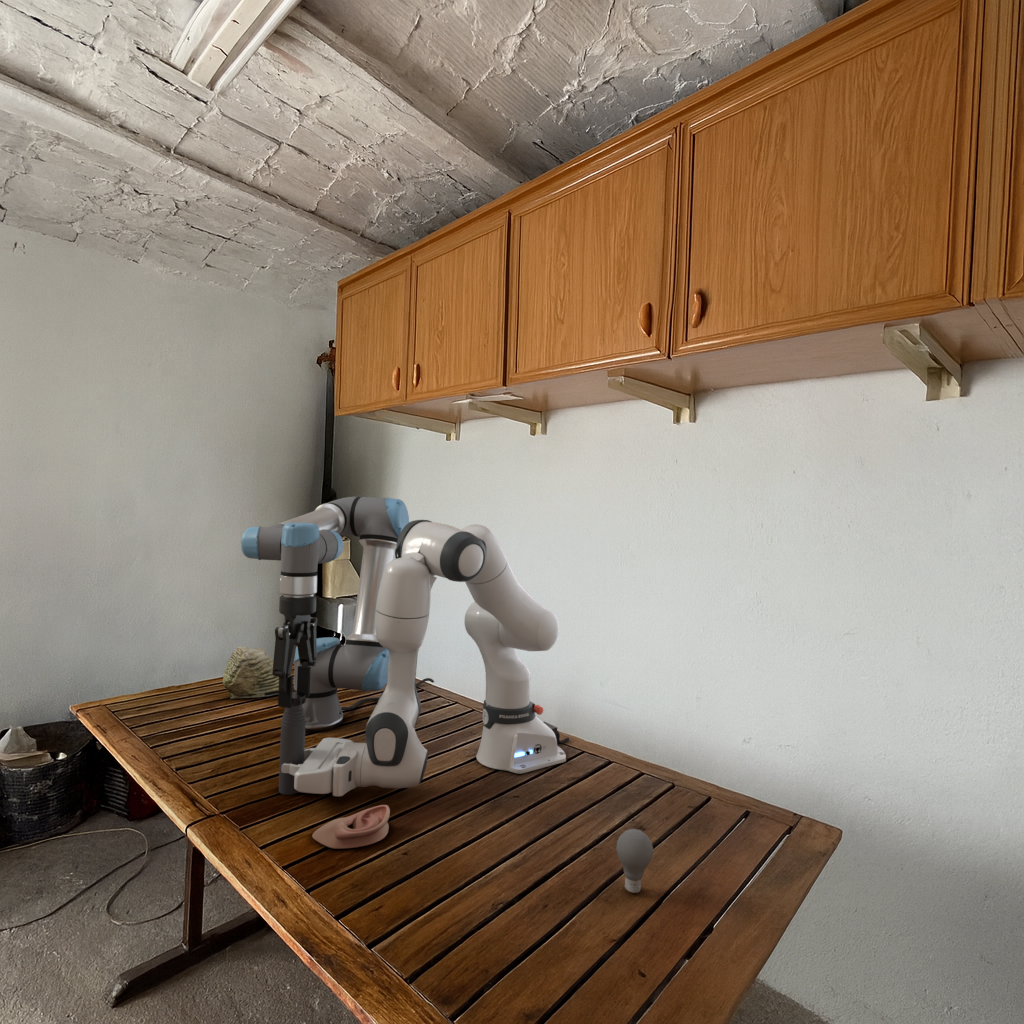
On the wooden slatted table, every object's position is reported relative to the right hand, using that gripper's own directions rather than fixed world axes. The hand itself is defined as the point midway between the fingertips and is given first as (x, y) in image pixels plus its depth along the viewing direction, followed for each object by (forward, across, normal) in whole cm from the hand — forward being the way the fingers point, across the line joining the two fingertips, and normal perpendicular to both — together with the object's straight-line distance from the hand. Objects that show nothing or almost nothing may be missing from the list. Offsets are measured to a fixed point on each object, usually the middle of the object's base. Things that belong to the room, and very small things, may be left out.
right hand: (287, 761), depth 136 cm
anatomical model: (-18, +17, +6) cm, 26 cm away
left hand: (-1, 0, -13) cm, 13 cm away
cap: (-1, 0, -14) cm, 14 cm away
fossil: (+32, -61, +6) cm, 70 cm away
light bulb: (-69, +30, +6) cm, 76 cm away
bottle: (-1, 0, +6) cm, 6 cm away
